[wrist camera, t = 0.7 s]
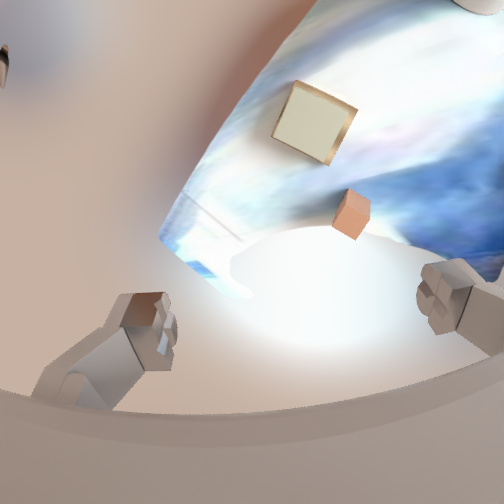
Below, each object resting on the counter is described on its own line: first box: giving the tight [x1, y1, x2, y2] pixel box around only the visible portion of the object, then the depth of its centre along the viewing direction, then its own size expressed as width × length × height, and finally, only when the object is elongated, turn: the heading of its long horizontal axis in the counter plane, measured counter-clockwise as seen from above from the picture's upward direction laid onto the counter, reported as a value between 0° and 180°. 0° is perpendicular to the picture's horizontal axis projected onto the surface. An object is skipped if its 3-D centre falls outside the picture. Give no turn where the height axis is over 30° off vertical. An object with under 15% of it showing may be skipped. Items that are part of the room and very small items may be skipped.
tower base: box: [271, 80, 358, 166], centre depth 47 cm, size 11×11×3 cm
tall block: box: [332, 189, 370, 240], centre depth 49 cm, size 4×4×8 cm
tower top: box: [273, 87, 349, 162], centre depth 44 cm, size 9×9×3 cm
